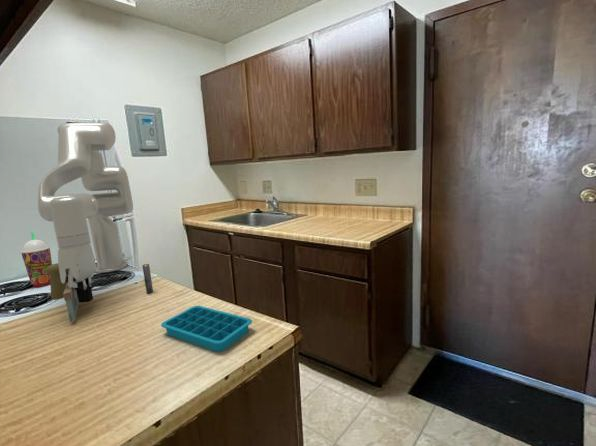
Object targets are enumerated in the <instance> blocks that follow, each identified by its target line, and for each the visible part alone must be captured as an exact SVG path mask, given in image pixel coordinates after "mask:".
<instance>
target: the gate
mask: <svg viewBox="0 0 596 446" xmlns="http://www.w3.org/2000/svg"><path fill="white" fill-rule="evenodd" d="M63 296H64V298H63V299H64V302H65V305H66V310H67V314H68V320H69V323H71V322H75V321H76V320H77V315H78V311H79V310H78V309H79V306H80V305H79V304H80V303H79V301H78V296H77V291H76V290H75V289H74V288H70V289H69V284H68V283H67V284H66V287H65V290H64V293H63Z"/></svg>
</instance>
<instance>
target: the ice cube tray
mask: <svg viewBox="0 0 596 446" xmlns="http://www.w3.org/2000/svg"><path fill="white" fill-rule="evenodd" d="M252 322H253V320H252V319H251V318H249V317H245V316H241V315H237V314H233V313H229V312H225V311H221V310H218V309H213V308H211V307H206V306H201V305H194V306H192V307H189V308H187V309H186V310H184V311H181V312H179V313H178V314H176V315H174V316H172V317H170V318H168V319H166V320H164V321H162V323H161V325H160V326H161V328H163V329H164V328H165V329H166V333H167V335H168V336H170V337H174V338H176V339H180V340H182V341H185V342H188V343H190V344H193V343H194V344H193V345H196V344H197V345H196V346H198V347H199V346H200V347H202V348H205V349H207V348H208V350H210V349H211V351H213V352H217V353H220V352H224V351H225V350H227V349H228V348H230V347H231V346H232V345H233V344H235V343H236V342H238V340H240V339H241V338H243V337H245V336H246V335H247V333H249V326H250V325H251V324H252Z"/></svg>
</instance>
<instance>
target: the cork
mask: <svg viewBox="0 0 596 446" xmlns="http://www.w3.org/2000/svg"><path fill="white" fill-rule="evenodd" d="M47 273H48V274H49V275H50V284H49V285H50V286H49V287H50V299H51V298H52V300H59V299H64V296H63V293H64V290H65V287H66V284H67V283H65V284H63V283H62V282H61V278H60V272H59V264H58V262H56V263H52V265H50V266H48V267H47Z"/></svg>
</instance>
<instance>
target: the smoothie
mask: <svg viewBox="0 0 596 446" xmlns="http://www.w3.org/2000/svg"><path fill="white" fill-rule="evenodd" d="M30 235H31V239H30V240H28V241H26V242H25V243H24V244H23V246H22V248H21V251H20V255H21V257H22V260H23V263H24V266H25V269H26V272H27V273H26V274H27V276H28V279H29V283H30V284H31V285H32V286H33V287H34V288H41V287H46V286H49V285H50V275H49V274H48V273H47V267H48V266H50V265H52V264H53V261H52V252H51V246H50V245H48V243H47V242H46V241H44V240H41V239H36V238H35V235H34V232H33V231H32V232H30Z"/></svg>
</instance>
